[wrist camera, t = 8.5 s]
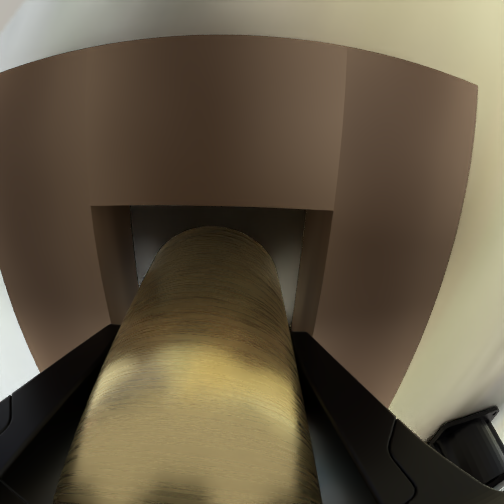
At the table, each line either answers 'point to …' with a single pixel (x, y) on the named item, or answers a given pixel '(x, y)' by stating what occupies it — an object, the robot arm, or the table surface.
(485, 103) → the table surface
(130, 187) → the jig block
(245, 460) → the gold cylinder
